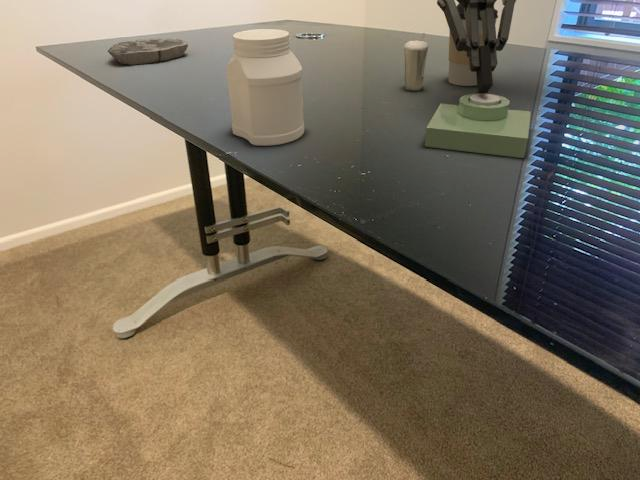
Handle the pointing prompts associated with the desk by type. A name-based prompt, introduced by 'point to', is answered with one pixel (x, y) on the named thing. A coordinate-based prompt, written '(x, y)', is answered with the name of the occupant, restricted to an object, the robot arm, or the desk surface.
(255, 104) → the jar
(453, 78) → the coffee cup
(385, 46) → the desk surface
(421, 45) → the milkshake
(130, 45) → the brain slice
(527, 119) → the panel
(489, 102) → the flush button
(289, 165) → the desk surface
